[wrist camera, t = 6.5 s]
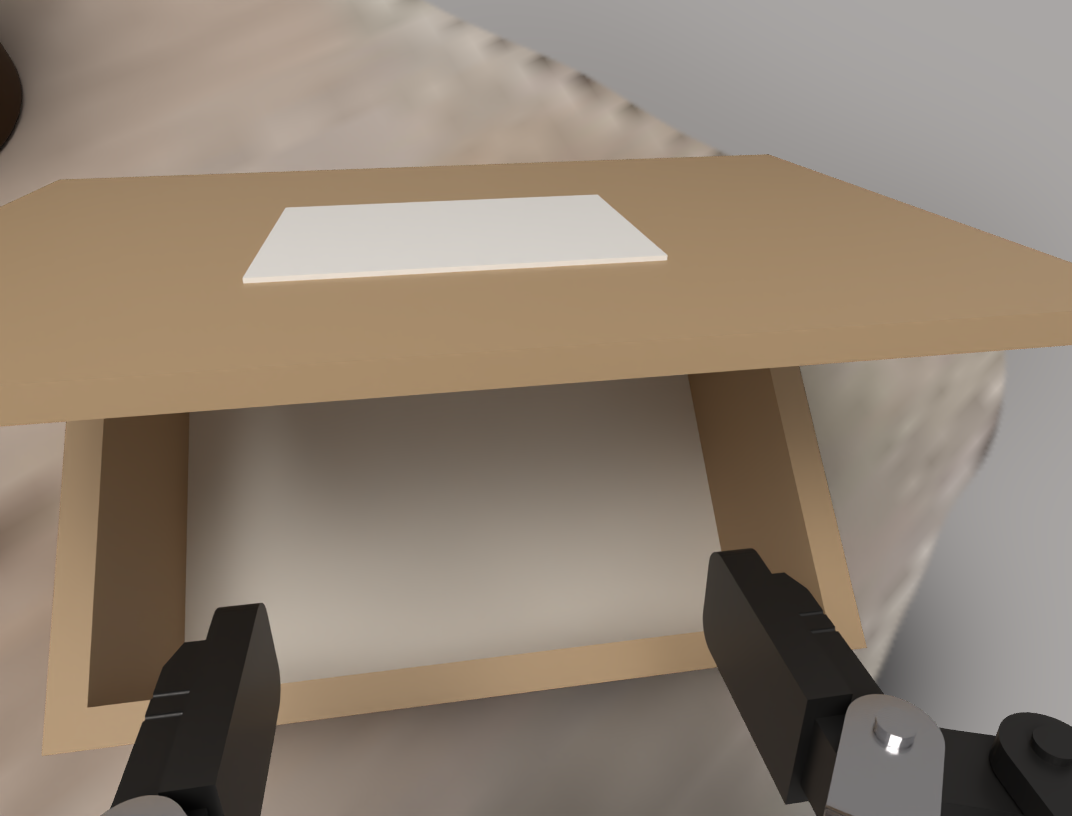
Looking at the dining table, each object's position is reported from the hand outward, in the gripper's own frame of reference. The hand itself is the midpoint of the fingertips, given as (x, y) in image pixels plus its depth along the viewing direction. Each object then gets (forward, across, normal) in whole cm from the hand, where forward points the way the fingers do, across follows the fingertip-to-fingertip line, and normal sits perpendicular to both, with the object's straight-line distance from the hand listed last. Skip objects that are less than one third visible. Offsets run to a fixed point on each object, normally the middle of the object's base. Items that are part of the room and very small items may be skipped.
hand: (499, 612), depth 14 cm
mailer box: (+15, 0, -7) cm, 17 cm away
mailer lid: (+8, 0, +5) cm, 9 cm away
